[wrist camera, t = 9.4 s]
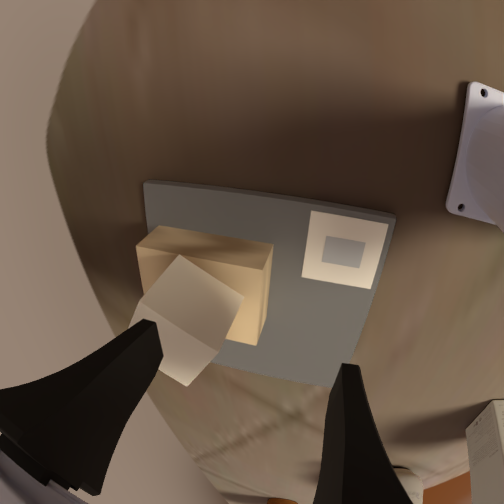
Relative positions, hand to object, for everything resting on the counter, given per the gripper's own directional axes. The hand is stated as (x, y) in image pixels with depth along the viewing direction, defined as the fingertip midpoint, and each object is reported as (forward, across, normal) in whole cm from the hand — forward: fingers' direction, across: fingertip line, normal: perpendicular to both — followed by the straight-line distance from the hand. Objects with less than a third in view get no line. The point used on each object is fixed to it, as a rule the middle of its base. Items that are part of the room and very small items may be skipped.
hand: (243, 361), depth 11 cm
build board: (+10, +2, +5) cm, 12 cm away
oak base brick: (+10, +5, +3) cm, 11 cm away
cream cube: (+6, +5, +3) cm, 9 cm away
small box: (+11, -28, +18) cm, 35 cm away
